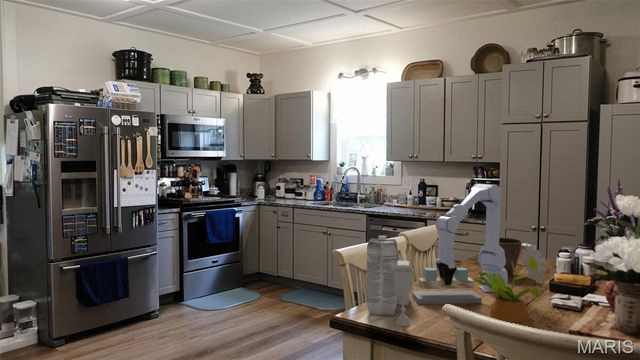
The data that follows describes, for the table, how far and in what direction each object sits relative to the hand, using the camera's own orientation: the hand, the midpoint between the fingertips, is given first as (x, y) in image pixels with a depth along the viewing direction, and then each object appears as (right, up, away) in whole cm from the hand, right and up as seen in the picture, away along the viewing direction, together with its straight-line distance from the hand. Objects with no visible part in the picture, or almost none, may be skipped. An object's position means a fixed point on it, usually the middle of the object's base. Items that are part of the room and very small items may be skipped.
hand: (445, 282), depth 191 cm
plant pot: (+37, -5, +41) cm, 56 cm away
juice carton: (-26, -8, -15) cm, 31 cm away
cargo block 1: (-6, +1, 0) cm, 6 cm away
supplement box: (-19, -7, -2) cm, 20 cm away
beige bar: (0, -2, 0) cm, 2 cm away
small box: (+56, -4, +61) cm, 83 cm away
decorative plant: (+16, -8, -18) cm, 25 cm away
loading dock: (0, -7, 0) cm, 6 cm away
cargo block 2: (+6, +1, 0) cm, 6 cm away
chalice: (-21, -8, -27) cm, 35 cm away
